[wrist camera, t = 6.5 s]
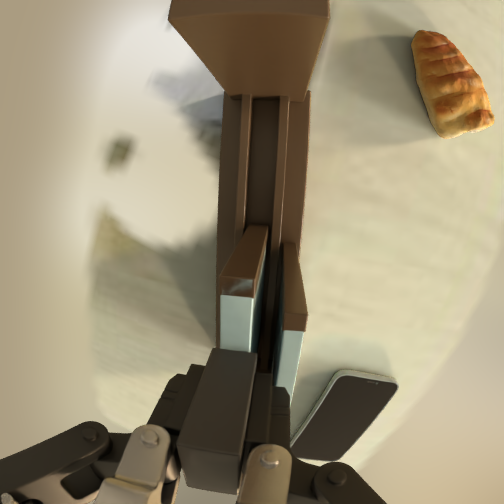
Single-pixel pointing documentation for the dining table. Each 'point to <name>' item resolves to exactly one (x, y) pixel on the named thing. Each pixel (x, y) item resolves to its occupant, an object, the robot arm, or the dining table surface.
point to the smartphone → (342, 415)
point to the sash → (227, 374)
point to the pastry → (449, 87)
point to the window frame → (262, 147)
